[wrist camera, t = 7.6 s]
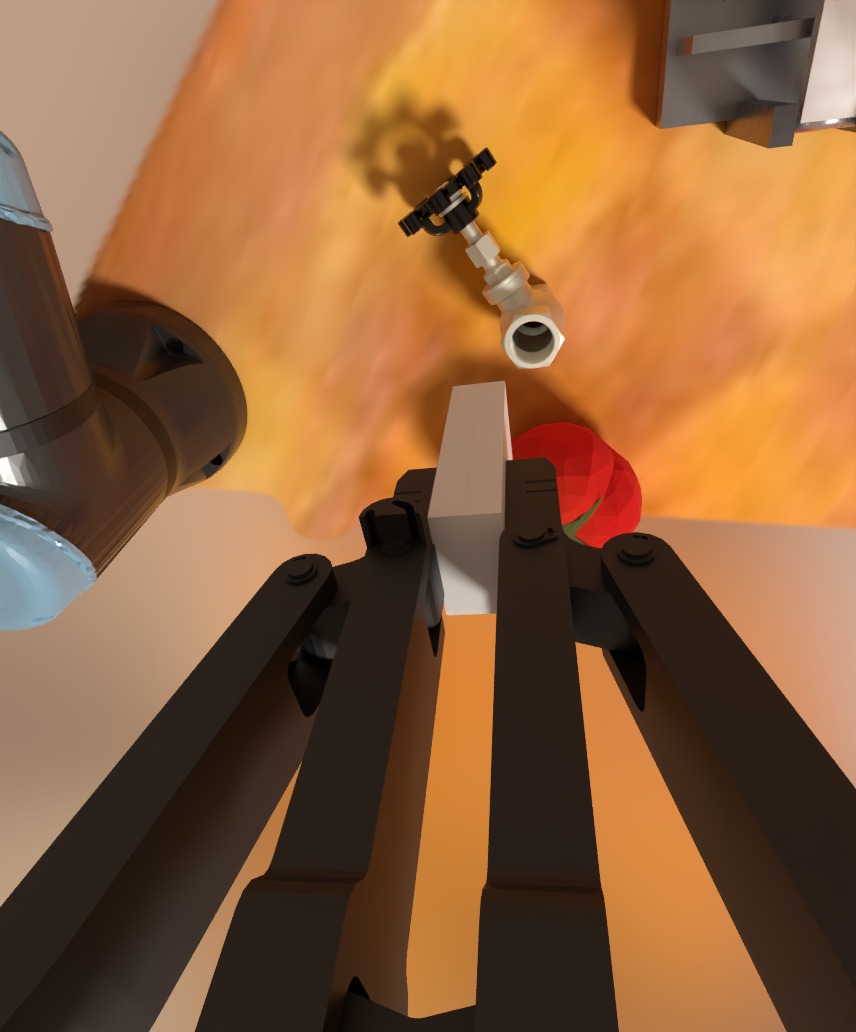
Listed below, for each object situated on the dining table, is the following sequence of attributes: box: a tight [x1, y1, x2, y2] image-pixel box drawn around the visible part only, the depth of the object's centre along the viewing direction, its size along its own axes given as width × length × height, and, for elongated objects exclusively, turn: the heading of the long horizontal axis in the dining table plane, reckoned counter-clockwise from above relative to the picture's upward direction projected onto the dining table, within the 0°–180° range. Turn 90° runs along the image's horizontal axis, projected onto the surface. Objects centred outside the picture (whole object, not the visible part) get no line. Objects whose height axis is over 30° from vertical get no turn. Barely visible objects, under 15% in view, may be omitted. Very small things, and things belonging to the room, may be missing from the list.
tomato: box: [511, 422, 642, 548], centre depth 45 cm, size 12×12×10 cm
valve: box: [398, 147, 566, 369], centre depth 38 cm, size 7×7×12 cm
